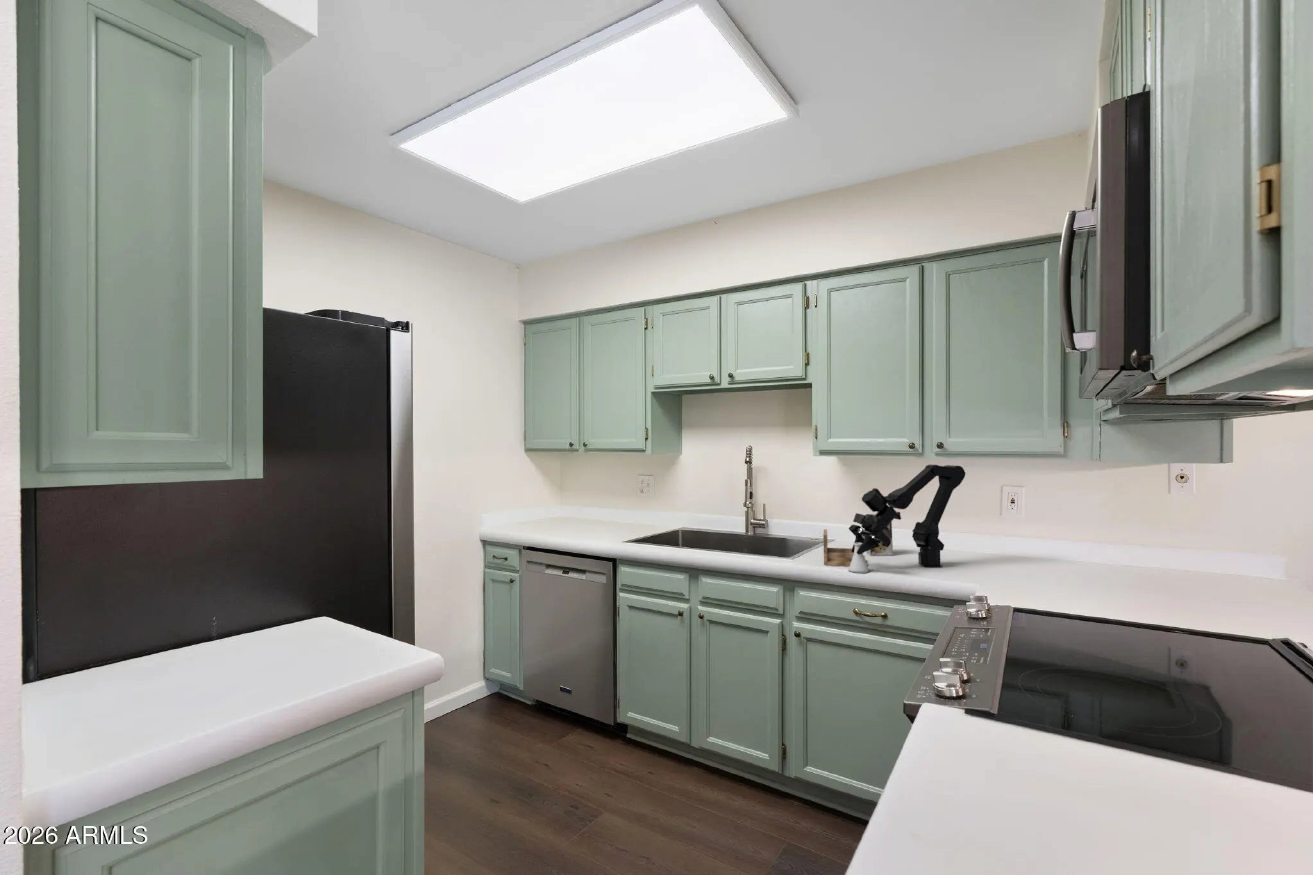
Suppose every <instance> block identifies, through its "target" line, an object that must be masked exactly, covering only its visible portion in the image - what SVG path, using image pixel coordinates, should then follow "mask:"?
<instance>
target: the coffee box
mask: <svg viewBox="0 0 1313 875" xmlns="http://www.w3.org/2000/svg"><path fill="white" fill-rule="evenodd" d="M867 514H868V513H867ZM867 514H864V515H865V516H866V515H867ZM870 514H871V515H873V516H875V515H876V513H870ZM892 522H893V521H892ZM892 522H891V523H890V524H889V525H888V528H889V529H888V531H886V530H884V531H883V532H884V533H885V534H886V535H887V536H888V537H889V538H890V539H891V544H890V545H889V547H885V546H883V545H882V543H883V542H880V543H879V545H880V547H876V548H873V549H871V550H868V551H866V552H865V553H866V554H867V555H869V557H873V556H874V557H875V556H879V557H880V556H881V557H882V556H883V557H884V556H887V557H888V556H894V554H893V553H894V550H893V548H894V547H893V546H894V545H893V526H892V525H893V524H892Z"/></svg>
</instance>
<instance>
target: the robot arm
mask: <svg viewBox="0 0 1313 875" xmlns="http://www.w3.org/2000/svg"><path fill="white" fill-rule="evenodd" d="M936 477H938V488H937V490H936V492H935V494H934V496H933V499H932V501H931V504H930V506H929V508H928V511H927V513H926V515H925V518H924V519H923V520H922V521H921V522H920V521H916V522H915V526H914V527H913V529H912V535H911V536H912V540H913V541H914V543H915V546H916V547H917V548H919V551H918V554H917V556H918V559H917V560H918V564H919V565H920V566H922V567H924V568H943V565H942V564H941V551H944V548H945V544H944V543H943V542H942V541H941V539H939V536H940V530H939V524H940V522H941V520H942V517H943V515H944V513H945V510H946V507H947V505H948V503H949V501H950V499H951V496H952V493H953V492H954V490H955V489H957V487H959V486H960V485H961V483H962V482H963V480H964V479H965V477H966V472H965V469H964V467H962V466H960V465H953V464H952V465H951V464H950V465H949V464H947V465H938V464H927V465H925V467H924V468H923V469H922V470H920V472H919V473H918V474H916V475H915V476H914V477H913V478H912V479H911V480H910V481H909V482H907V483H906V484H905V485H904V486H901V487H899V488H896V489H895V490H893V491H891V492H889V493H888V494H887V495H886V496H884V495H883V494H882V493H881V491H880V489H878V488H877V487H874V488H872V489H871V490H869V491H867V492H866V493H864V494H863V496H862V497H861V502H863V503H864V504H865V506H866V507H868V508H869V510H870V511H871V512H872V513H875V514H876V515H875V516H873V515H871V514H872V513H867V515H866V516H865V514H861V513H858V512H855V515H854V517H853V520H852V522H854V523H857V524H859V525H857V524H851V525H850V526H849V527H848V530H849V531H850V532H851V533H852V535H854V537H855V540H854V542H853V545H852V547H851V548H852V550H851V551H852V553H854V549H855V545H854V543H862V545H861V546H860V547H859V549H858V551H857V554H858V555H859V554H862V553H863V554H864V553H867V552H866V551H868V550H871V549H873V548H876V547H880V545H879V543H880V542H883V543H882V545H883V546H885V547H889V545H890V544H891V539H890V538H889V537H888V536H887V535H886V534H885V533H884V532H883V531H884V530H886V531H888V529H889V528H888V525H889V524H890V523H891V522H893V520H894V519H895V520H898V521H899V520H900V521H901V520H902V516H901V512H900V511H896V509H898V510H906V509H907V508H908V507H909V506H910V505H911V503H912V502H913V500H914V497H915V496H916V495H917V494H918V493H919V492H920V491H921V490H923V488H925V487H926V486H927V485H928V484H929V483H930V482H931V481H932V480H934V479H935V478H936Z"/></svg>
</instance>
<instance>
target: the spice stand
mask: <svg viewBox="0 0 1313 875" xmlns="http://www.w3.org/2000/svg"><path fill="white" fill-rule="evenodd" d="M822 534H823V535H822V537H823V566H824V565H831V566H830V567H847V568H848V567H850V564H851V561H852V558H853V555H854V553H852V551H851V550H852V547H850V548H848V547H847V548H845V547H828V529H823V533H822ZM864 558H865V561H866V557H865V555H864ZM866 562H867V561H866Z"/></svg>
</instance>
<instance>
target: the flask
mask: <svg viewBox="0 0 1313 875" xmlns="http://www.w3.org/2000/svg"><path fill="white" fill-rule="evenodd" d="M853 545H855V549H854V555H853V558H852V561H851V564H850V567H849V568H848V572H850V573H859V574H860V573H861V574H865V573H868V572H870V570H869V566H868V564H867V561H865V560H866V557H865V558H864V556H865V555H864V553H862V554H859V555H858V554H857V551H858V549H859V547H860V546H861V545H862V543H854V542H853Z"/></svg>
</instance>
